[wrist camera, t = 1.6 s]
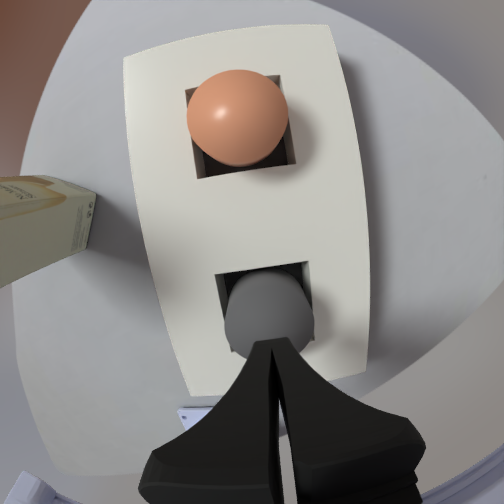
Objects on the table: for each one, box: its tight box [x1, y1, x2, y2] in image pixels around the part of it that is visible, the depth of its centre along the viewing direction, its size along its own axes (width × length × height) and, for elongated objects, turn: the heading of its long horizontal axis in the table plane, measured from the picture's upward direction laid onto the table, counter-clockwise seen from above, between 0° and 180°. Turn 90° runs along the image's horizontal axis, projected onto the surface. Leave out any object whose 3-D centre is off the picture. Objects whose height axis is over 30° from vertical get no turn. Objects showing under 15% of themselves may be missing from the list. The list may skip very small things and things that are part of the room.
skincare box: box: [0, 175, 96, 288], centre depth 10 cm, size 6×4×12 cm
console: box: [123, 24, 370, 396], centre depth 15 cm, size 22×12×3 cm, turn 9°
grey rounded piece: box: [224, 267, 315, 359], centre depth 14 cm, size 4×4×3 cm
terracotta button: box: [187, 69, 288, 167], centre depth 12 cm, size 4×4×3 cm
